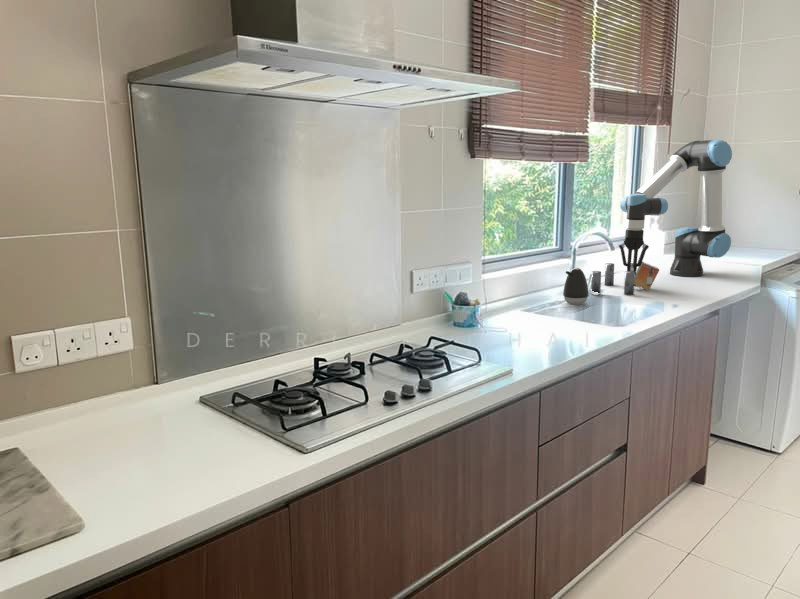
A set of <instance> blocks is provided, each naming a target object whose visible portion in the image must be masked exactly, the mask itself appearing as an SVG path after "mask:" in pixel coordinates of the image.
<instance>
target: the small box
mask: <svg viewBox="0 0 800 599" xmlns="http://www.w3.org/2000/svg"><path fill="white" fill-rule="evenodd" d="M659 272H660V268H659V267H657V266H655V265H651V264H650V263H647V262H644V261H642V263H641V266H638V267H637V270H636V274H635V276H634V285H635V286H637V287H640V288H642V289H643V290H646V291H650V289H651V287H652V286H653V284H654V281H655V279H656V277H657V276H658V274H659Z"/></svg>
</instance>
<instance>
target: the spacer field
mask: <svg viewBox="0 0 800 599" xmlns="http://www.w3.org/2000/svg"><path fill="white" fill-rule="evenodd" d="M604 265H605V266H604V267H605V268H604V286H607V287H611V286H614V284H615V283H614V282H615V280H614V279H615V277H614V276H615V263H613V262H612V263H611V262H610V263H605V264H604ZM631 267H633V262H631ZM637 268H638V267H636V270H637ZM591 275H593V277H592V280H591V281H590V283H591V284H590V290H591V289H592V291H594V292H598V293H600V294H601V290H602V289H601V288H602V286H601V285H602V282H601V280H602V271H600V270H593V271H591ZM634 276H635V272H634V271H627V270H625V271H624V286H623V287H624V288H623V291H624V292H623V294H624V295H625V296H634V294H635V292H634V291H635V286H636V285H634Z"/></svg>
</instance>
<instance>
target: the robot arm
mask: <svg viewBox="0 0 800 599" xmlns="http://www.w3.org/2000/svg"><path fill="white" fill-rule="evenodd" d="M732 158H733V149H732V147H731V145H730V144H729V143H728V142H727V141H726V140H723V139H722V140H721V139H707V140H694V141H691V142H689V143H687V144H685V145H683V146H682V147H681V148H679V149H678V150H676V151H675V152H674V153H673V154H672V155H671V156H670V157H669V159H668V162H666V163H665V164H664V165H663V166H662V167H661V168H659V170H658V171H657V172H655V174H653V175H652V176H651V177H650V178H648V180H647V181H645V183H644V184H643V185H641V186H640V187H639V188H638V189H637V190H636V191H635V192H634V193H631V194H629V195H628V196H624V197H622V199H621V200H620V204H619V206H620V209H621V211H622V212H624V213H626V224H625V228H626V230H625V235H624V240H623V242H621V243H619V244H618V248H619V249H620V255H621V259H622V264H623V266H624V267H626V271H634V272H635V274H636V267H637V268H638V266H641V263H642V262H644V258H645V255H646V251H647V250H648V249H649V248H650V246H649V245H648V244H646V243H645V241H644V232H645V231H644V229H645V221H646V219H645V218H646V216H661V215H664V214H665V213H667V211H668V209H669V202H668V200H667V199H666V198H664V197H656V196H657V195H658V194H660V192H661V191H662V190H663V189H665V187H666V186H667V185H669V183H671V182H672V181H673V180H674V179H675V178H676V177H677V176H679V175H680V173H684V172H686V171H687V170H688V169H690V168H692V167H697V173H699V174H700V177H701V181H700V182H701V191H700V192H701V197H700V198H701V225H700V226H699V227H683V228H678V229H677V230H676V232H675V237H674V238H675V239H674V240H675V241H674V243H675V244H674V258H673V262H672V264H671V267H670V268H669V274H670V273H671V274H670V275H672V276H677V277H687V278H689V277H690V278H691V277H693V278H694V277H700V276H703V275H704V268H703V265H702V264H703V263H702V260H701V256H702V257H709V258H718V259H719V258H722V257H724V256H725V255H726V254H727V252H729V250H730V248H731V246H732V245H731V244H732V238H731V236H730V235H729V234H728V233H726V227H725V226H724V225H723V221H722V220H723V217H722V216H723V173H724V171H726V169H727V165H728V164H730V162H731V160H732ZM624 248H626V249H627V257H626V254H625V253H626V252H625V249H624ZM641 248H642V250H641V252H640V254H638V253H639V250H640V249H641ZM632 255H633V261H632ZM638 255H639V256H638ZM638 257H639V258H638ZM626 258H627V259H626ZM631 263H633V267H631Z"/></svg>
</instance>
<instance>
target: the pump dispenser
mask: <svg viewBox="0 0 800 599" xmlns="http://www.w3.org/2000/svg"><path fill="white" fill-rule="evenodd" d="M565 274H566V275H567V276H566V279H565V282H564V285H563V286H564V287H563V294H562V295H563V298H564V300H565V302H566V303H567V304H568V305H570V306H581V305H583V304H585V303H586V302H587V300H588V298H589V295H590V294H589V286H588V282H587V281H588V280H587V278H586V274H585V273H584V272H583V270H582V269H581V268H579V267H573V268H571V269H570V271H568V270H566V271H565Z"/></svg>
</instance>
